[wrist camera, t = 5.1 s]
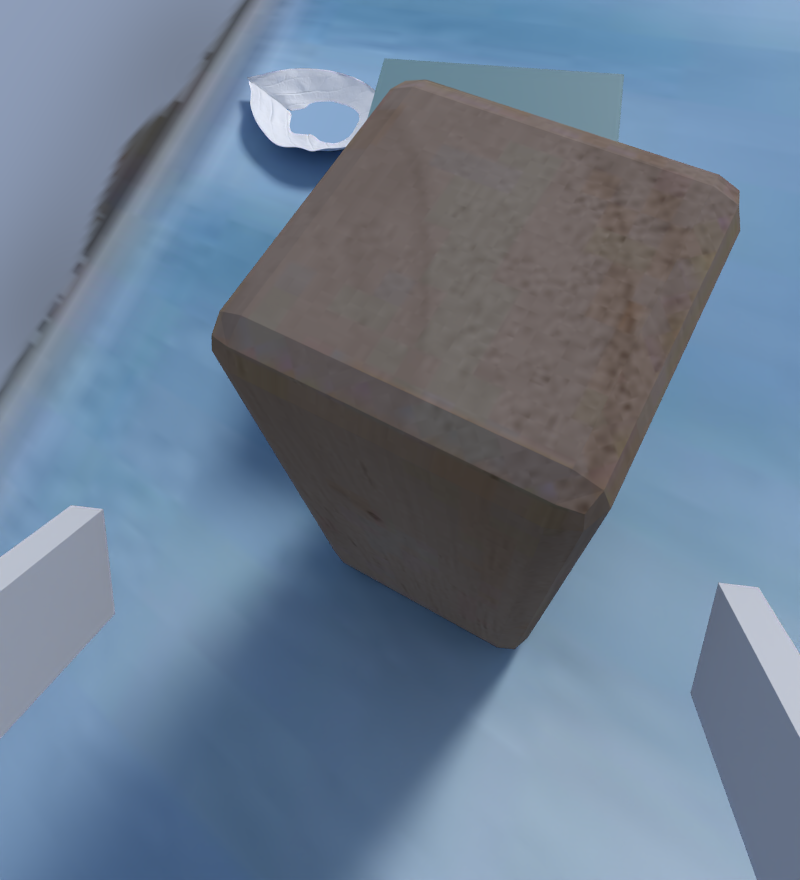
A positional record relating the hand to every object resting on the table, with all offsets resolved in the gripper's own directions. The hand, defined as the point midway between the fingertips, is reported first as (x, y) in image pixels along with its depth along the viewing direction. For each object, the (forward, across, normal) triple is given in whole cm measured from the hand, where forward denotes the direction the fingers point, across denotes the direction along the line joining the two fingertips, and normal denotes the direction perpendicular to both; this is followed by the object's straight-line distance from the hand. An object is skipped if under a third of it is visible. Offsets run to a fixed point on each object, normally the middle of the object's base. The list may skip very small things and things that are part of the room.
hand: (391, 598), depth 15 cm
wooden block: (+18, +1, -7) cm, 20 cm away
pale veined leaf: (+37, -11, +11) cm, 40 cm away
